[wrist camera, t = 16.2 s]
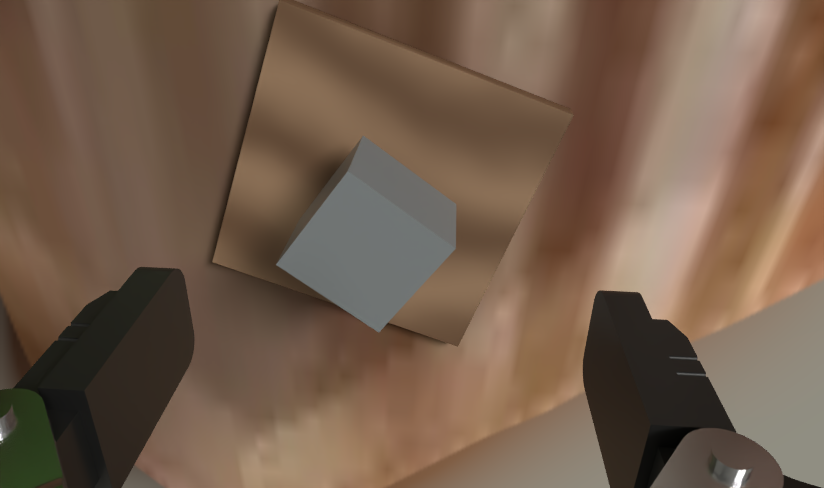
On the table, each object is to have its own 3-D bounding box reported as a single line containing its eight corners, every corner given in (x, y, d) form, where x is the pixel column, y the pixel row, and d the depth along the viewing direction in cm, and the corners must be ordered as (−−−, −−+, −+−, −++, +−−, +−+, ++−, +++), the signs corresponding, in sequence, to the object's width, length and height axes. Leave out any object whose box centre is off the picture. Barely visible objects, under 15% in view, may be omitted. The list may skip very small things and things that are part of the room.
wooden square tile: (285, -3, 33) (240, 19, 27) (570, 108, 35) (596, 156, 28) (218, 252, 41) (170, 321, 34) (457, 335, 42) (457, 416, 35)
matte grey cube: (299, 219, 35) (275, 264, 31) (363, 135, 33) (347, 170, 28) (388, 280, 36) (378, 332, 32) (456, 204, 34) (456, 248, 30)
